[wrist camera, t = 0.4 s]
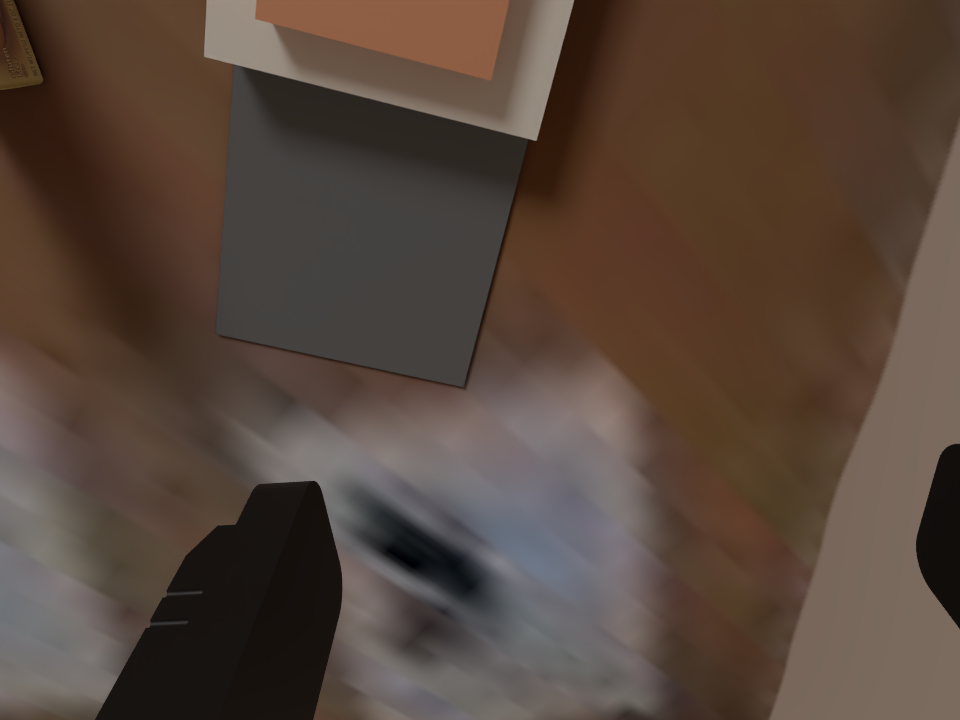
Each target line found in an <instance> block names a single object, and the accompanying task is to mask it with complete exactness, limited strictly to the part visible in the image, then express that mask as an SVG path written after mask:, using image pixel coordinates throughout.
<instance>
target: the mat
mask: <svg viewBox="0 0 960 720" xmlns="http://www.w3.org/2000/svg"><path fill="white" fill-rule="evenodd" d="M528 140H529V139H527V138H523V137H519V136H515V135H511V134H507V133H503V132H499V131H495V130H491V129H487V128H483V127H479V126H475V125H471V124H468V123H464V122H460V121H456V120H452V119H448V118H444V117H440V116H436V115H432V114H428V113H424V112H420V111H416V110H412V109H408V108H404V107H401V106H397V105H393V104H389V103H385V102H381V101H377V100H373V99H369V98H365V97H361V96H357V95H353V94H349V93H345V92H341V91H338V90H334V89H330V88H326V87H322V86H318V85H314V84H310V83H306V82H302V81H298V80H294V79H290V78H286V77H282V76H278V75H274V74H271V73H267V72H263V71H259V70H255V69H251V68H247V67H243V66H239V65H235V64H234V71H233V86H232V100H231V115H230V130H229V144H228V159H227V174H226V188H225V203H224V217H223V232H222V247H221V261H220V276H219V291H218V305H217V320H216V334H218V335H222V336H227V337H232V338H236V339H241V340H246V341H250V342H255V343H260V344H264V345H269V346H274V347H278V348H283V349H288V350H292V351H297V352H302V353H306V354H311V355H315V356H320V357H325V358H329V359H334V360H339V361H343V362H348V363H353V364H357V365H362V366H367V367H371V368H376V369H381V370H385V371H390V372H395V373H399V374H404V375H409V376H413V377H418V378H423V379H427V380H432V381H436V382H441V383H446V384H450V385H455V386H460V387H464V383H465V380H466V376H467V372H468V368H469V364H470V361H471V357H472V353H473V349H474V345H475V341H476V338H477V334H478V330H479V326H480V322H481V319H482V315H483V311H484V307H485V303H486V300H487V296H488V292H489V288H490V284H491V281H492V277H493V273H494V269H495V265H496V262H497V258H498V254H499V250H500V246H501V243H502V239H503V235H504V231H505V227H506V224H507V220H508V216H509V212H510V208H511V205H512V201H513V197H514V193H515V189H516V186H517V182H518V178H519V174H520V170H521V167H522V163H523V159H524V155H525V151H526V147H527V144H528Z"/></svg>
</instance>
